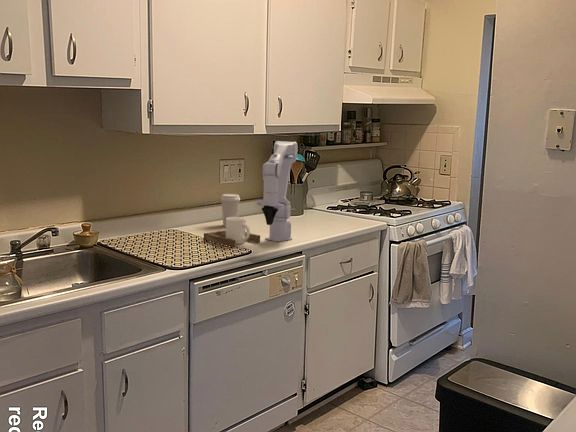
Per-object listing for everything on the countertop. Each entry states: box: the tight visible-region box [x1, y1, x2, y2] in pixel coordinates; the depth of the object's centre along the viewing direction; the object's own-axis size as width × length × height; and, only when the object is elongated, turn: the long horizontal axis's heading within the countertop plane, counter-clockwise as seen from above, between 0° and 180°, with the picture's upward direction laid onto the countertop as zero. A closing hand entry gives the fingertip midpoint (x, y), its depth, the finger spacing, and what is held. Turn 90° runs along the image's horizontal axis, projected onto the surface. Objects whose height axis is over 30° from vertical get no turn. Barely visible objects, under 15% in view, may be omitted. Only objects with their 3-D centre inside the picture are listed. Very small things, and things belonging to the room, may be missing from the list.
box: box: [203, 229, 261, 248], centre depth 249 cm, size 16×18×3 cm
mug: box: [225, 216, 251, 245], centre depth 246 cm, size 12×8×10 cm
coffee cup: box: [220, 193, 241, 227], centre depth 282 cm, size 10×10×15 cm
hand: (269, 224), depth 241 cm, fingers closed
